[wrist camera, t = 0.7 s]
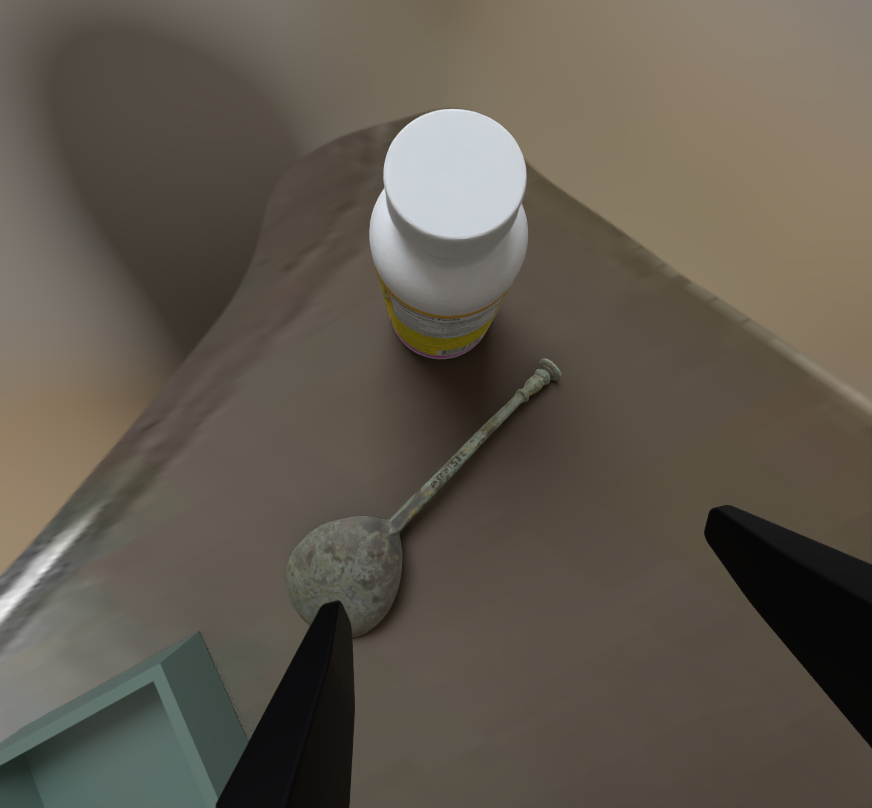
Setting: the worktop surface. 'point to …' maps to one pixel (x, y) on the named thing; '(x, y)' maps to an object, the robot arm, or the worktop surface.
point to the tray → (131, 741)
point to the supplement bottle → (449, 229)
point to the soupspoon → (377, 540)
